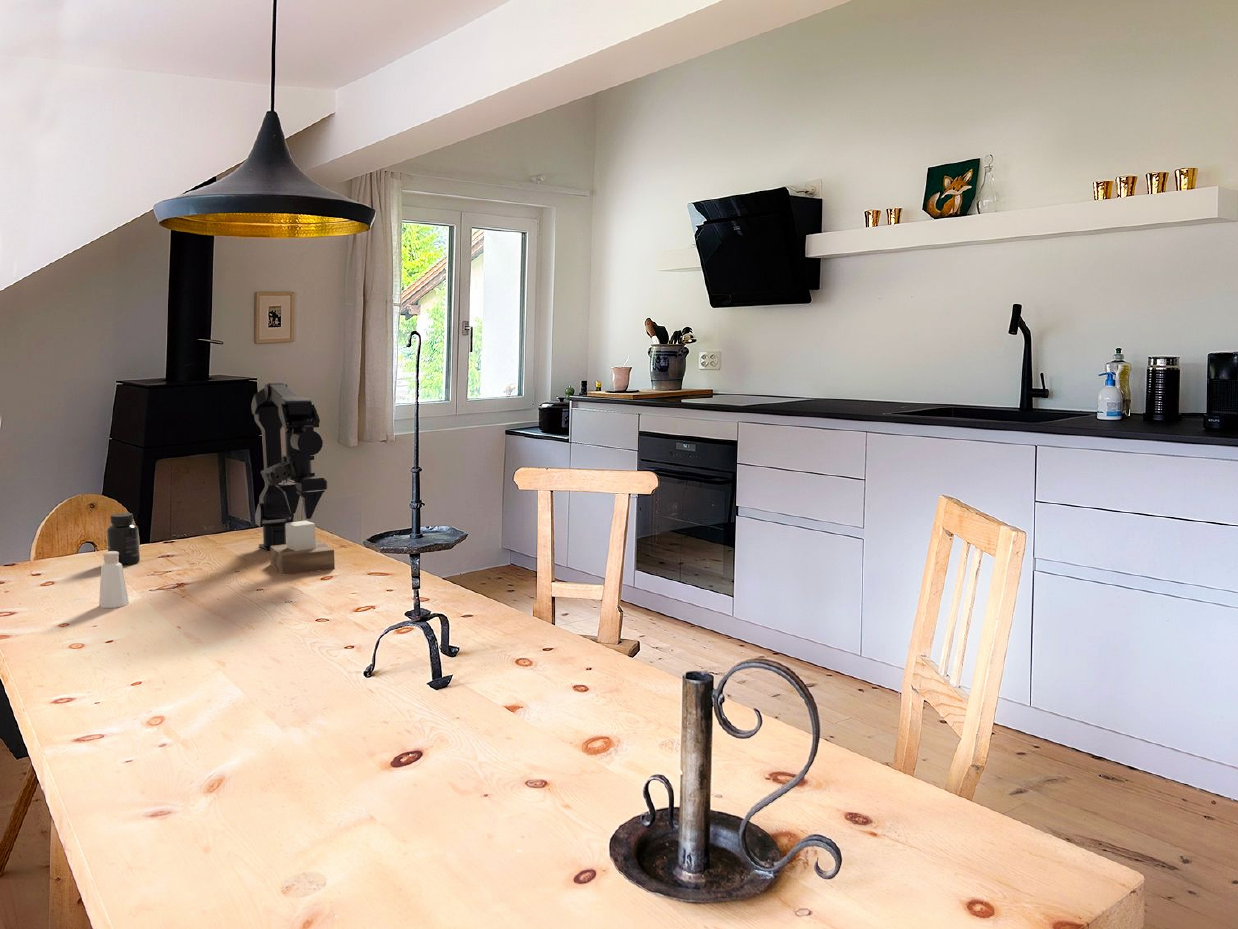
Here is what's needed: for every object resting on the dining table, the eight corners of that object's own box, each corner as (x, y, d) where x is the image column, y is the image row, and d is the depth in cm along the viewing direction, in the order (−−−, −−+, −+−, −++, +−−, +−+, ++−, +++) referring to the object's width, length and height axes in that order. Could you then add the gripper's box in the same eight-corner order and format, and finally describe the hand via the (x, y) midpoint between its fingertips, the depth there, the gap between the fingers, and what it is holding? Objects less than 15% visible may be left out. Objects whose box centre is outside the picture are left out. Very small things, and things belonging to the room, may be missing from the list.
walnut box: (270, 566, 230) (270, 546, 229) (320, 560, 236) (320, 540, 236) (283, 576, 220) (282, 555, 219) (334, 570, 226) (334, 549, 226)
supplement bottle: (101, 565, 228) (98, 516, 226) (124, 559, 234) (121, 511, 233) (124, 567, 226) (121, 517, 224) (146, 561, 232) (143, 513, 231)
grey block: (286, 547, 228) (285, 523, 227) (306, 544, 231) (305, 520, 230) (295, 551, 224) (294, 526, 223) (315, 548, 228) (315, 523, 227)
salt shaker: (97, 609, 191) (94, 556, 189) (100, 602, 196) (97, 550, 194) (127, 606, 193) (124, 554, 191) (129, 600, 198) (126, 548, 196)
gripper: (249, 450, 226) (252, 514, 228) (279, 457, 212) (282, 526, 214) (295, 447, 233) (297, 509, 235) (327, 454, 220) (329, 520, 221)
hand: (300, 516), depth 226 cm, fingers open, 9 cm apart
